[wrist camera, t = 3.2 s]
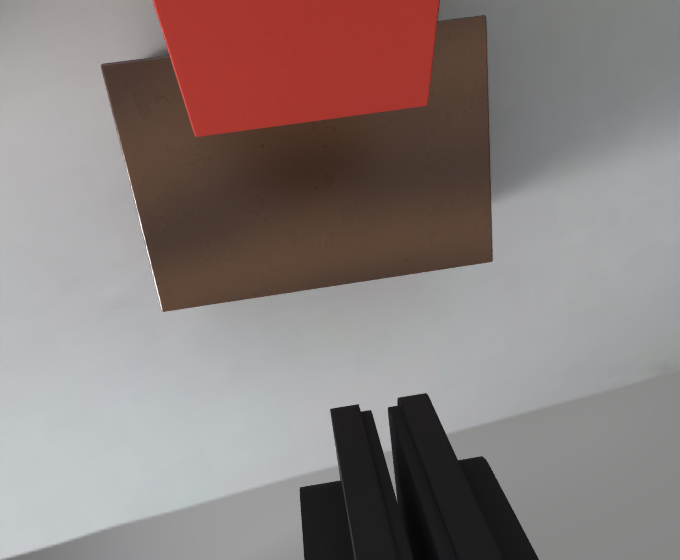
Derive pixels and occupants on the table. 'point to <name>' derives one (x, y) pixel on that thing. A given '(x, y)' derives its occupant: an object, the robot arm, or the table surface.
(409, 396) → the robot arm
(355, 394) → the table surface
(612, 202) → the table surface
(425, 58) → the container
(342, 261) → the walnut box
